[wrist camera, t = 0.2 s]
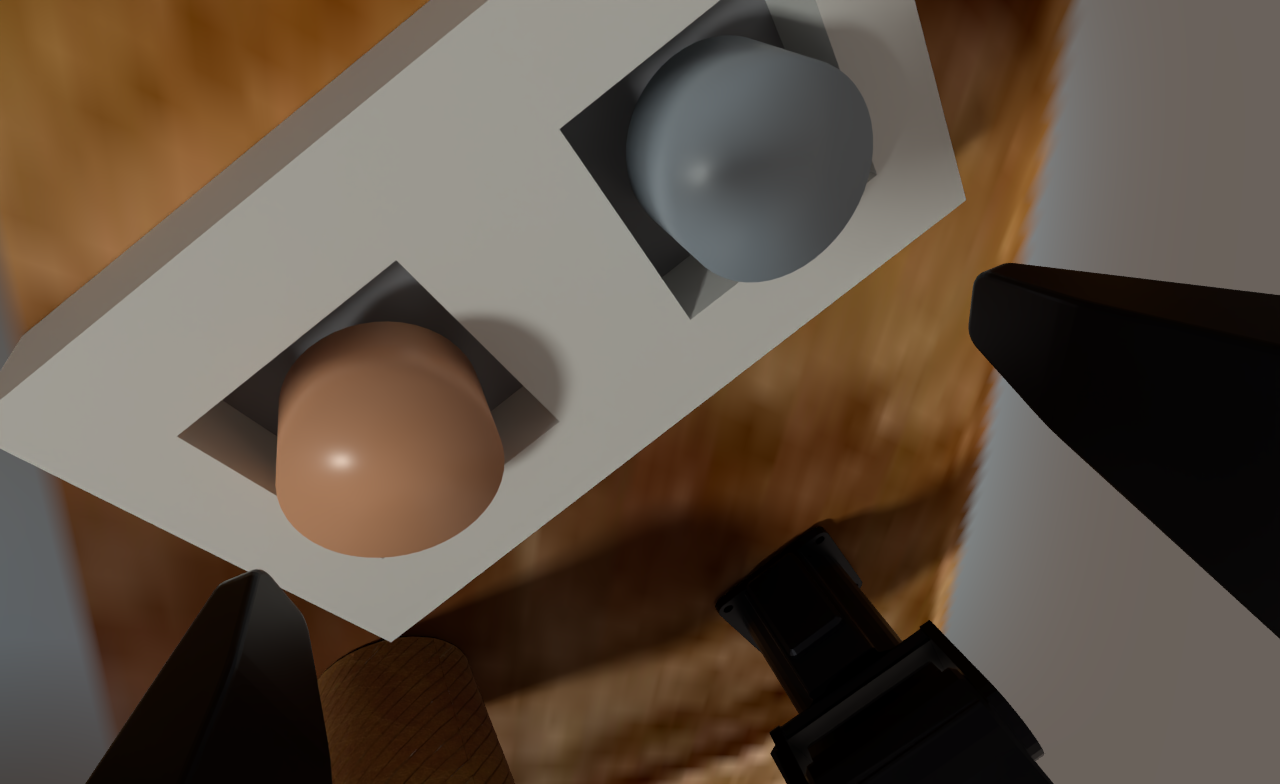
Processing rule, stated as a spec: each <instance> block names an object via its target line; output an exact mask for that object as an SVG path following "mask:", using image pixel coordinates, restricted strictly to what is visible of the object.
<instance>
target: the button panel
mask: <svg viewBox="0 0 1280 784" xmlns="http://www.w3.org/2000/svg"><path fill="white" fill-rule="evenodd" d="M722 35H735V36H743V37H747V38H750V39H753V40H757V41H760V42H763V43H766V44H769V45H772V46H776V47H779V48H782V49H785V50H788V51H791V52H794V53H798V54H801V55H804V56H807V57H810V58H813V59H816V60H820V61H823V62H826V63H828V64H830V65H832V66H834V67H836V68H838V69H839V70H840V71H842V72H843V73H844V74H845V75H847V76H848V77H849V78H850V80H851V81H852V82H853V83H854V84H855V85H856V87H857V88H858V90H859V91H860V93H861V95H862V96H863V98H864V101H865V103H866V105H867V108H868V111H869V115H870V119H871V123H872V131H873V154H872V163H871V168H870V173H869V177H868V181H867V184H866V187H865V190H864V192H863V195H862V197H861V200H860V202H859V204H858V206H857V208H856V210H855V212H854V213H853V215H852V217H851V219H850V220H849V222H848V223H847V225H846V226H845V228H844V229H843V230H842V232H841V233H840V234H839V235H838V236H837V238H836V239H835V240H834V241H833V242H832V243H831V244H830V245H829V246H828V247H827V248H826V249H825V250H824V251H823V252H822V253H821V254H820V255H818V256H817V257H816V258H815V259H813V260H812V261H811V262H809V263H808V264H806V265H805V266H803V267H801V268H800V269H798V270H796V271H794V272H792V273H790V274H787V275H785V276H783V277H780V278H776V279H773V280H769V281H763V282H747V283H746V282H738V281H733V280H729V279H726V278H723V277H721V276H719V275H717V274H715V273H713V272H711V271H710V270H709V269H707V268H706V267H704V266H703V265H702V264H701V263H700V262H699V261H698V260H697V259H696V258H694V257H693V256H692V255H691V254H690V253H689V252H688V251H687V250H686V249H685V248H684V247H682V246H681V245H680V244H679V243H678V242H677V241H676V240H675V239H674V238H673V237H672V236H670V235H669V234H668V233H667V232H666V231H665V230H664V229H663V228H662V227H661V226H660V225H658V224H657V223H656V222H655V221H654V220H653V219H652V218H651V217H650V216H649V215H648V214H647V213H646V212H645V210H644V209H643V208H642V206H641V205H640V203H639V202H638V200H637V198H636V196H635V194H634V192H633V189H632V187H631V184H630V180H629V176H628V172H627V164H626V141H627V134H628V128H629V125H630V121H631V117H632V114H633V111H634V109H635V106H636V104H637V101H638V100H639V98H640V96H641V94H642V92H643V90H644V88H645V87H646V85H647V84H648V82H649V81H650V79H651V78H652V77H653V76H654V74H655V73H656V72H657V71H658V70H659V69H660V67H661V66H662V65H663V64H665V63H666V62H667V61H668V60H669V59H670V58H671V57H672V56H674V55H675V54H677V53H678V52H679V51H681V50H682V49H684V48H686V47H688V46H689V45H691V44H693V43H695V42H698V41H701V40H704V39H706V38H710V37H716V36H722ZM965 200H966V198H965V194H964V190H963V186H962V183H961V179H960V175H959V171H958V167H957V163H956V159H955V155H954V151H953V148H952V144H951V140H950V136H949V132H948V128H947V124H946V120H945V117H944V113H943V109H942V105H941V101H940V97H939V93H938V89H937V85H936V82H935V78H934V74H933V70H932V66H931V62H930V58H929V54H928V50H927V47H926V43H925V39H924V35H923V31H922V27H921V23H920V19H919V16H918V12H917V8H916V4H915V0H430V1H429V2H428V3H426V4H425V5H424V6H423V7H422V8H420V9H419V10H418V11H417V12H415V13H414V14H413V15H412V16H411V17H409V18H408V19H407V20H406V21H405V22H403V23H402V24H401V25H400V26H398V27H397V28H396V29H395V30H394V31H392V32H391V33H390V34H389V35H388V36H386V37H385V38H384V39H383V40H381V41H380V42H379V43H378V44H377V45H375V46H374V47H373V48H372V49H371V50H369V51H368V52H367V53H366V54H364V55H363V56H362V57H361V58H360V59H358V60H357V61H356V62H355V63H354V64H352V65H351V66H350V67H349V68H347V69H346V70H345V71H344V72H343V73H341V74H340V75H339V76H338V77H337V78H335V79H334V80H333V81H332V82H330V83H329V84H328V85H327V86H326V87H324V88H323V89H322V90H321V91H319V92H318V93H317V94H316V95H315V96H313V97H312V98H311V99H310V100H309V101H307V102H306V103H305V104H304V105H302V106H301V107H300V108H299V109H298V110H296V111H295V112H294V113H293V114H292V115H290V116H289V117H288V118H287V119H285V120H284V121H283V122H282V123H281V124H279V125H278V126H277V127H276V128H275V129H273V130H272V131H271V132H270V133H268V134H267V135H266V136H265V137H264V138H262V139H261V140H260V141H259V142H258V143H256V144H255V145H254V146H253V147H251V148H250V149H249V150H248V151H247V152H245V153H244V154H243V155H242V156H241V157H239V158H238V159H237V160H236V161H234V162H233V163H232V164H231V165H230V166H228V167H227V168H226V169H225V170H224V171H222V172H221V173H220V174H219V175H217V176H216V177H215V178H214V179H213V180H211V181H210V182H209V183H208V184H207V185H205V186H204V187H203V188H202V189H200V190H199V191H198V192H197V193H196V194H194V195H193V196H192V197H191V198H190V199H188V200H187V201H186V202H185V203H183V204H182V205H181V206H180V207H179V208H177V209H176V210H175V211H174V212H173V213H171V214H170V215H169V216H168V217H166V218H165V219H164V220H163V221H162V222H160V223H159V224H158V225H157V226H156V227H154V228H153V229H152V230H151V231H149V232H148V233H147V234H146V235H145V236H143V237H142V238H141V239H140V240H139V241H137V242H136V243H135V244H134V245H132V246H131V247H130V248H129V249H128V250H126V251H125V252H124V253H123V254H122V255H120V256H119V257H118V258H117V259H115V260H114V261H113V262H112V263H111V264H109V265H108V266H107V267H106V268H105V269H103V270H102V271H101V272H100V273H98V274H97V275H96V276H95V277H94V278H92V279H91V280H90V281H89V282H87V283H86V284H85V285H84V286H83V287H81V288H80V289H79V290H78V291H77V292H75V293H74V294H73V295H72V296H70V297H69V298H68V299H67V300H66V301H64V302H63V303H62V304H61V305H60V306H58V307H57V308H56V309H55V310H53V311H52V312H51V313H50V314H49V315H47V316H46V317H45V318H44V319H43V320H41V321H40V322H39V323H38V324H36V325H35V326H34V327H33V328H32V329H30V330H29V331H28V332H27V333H26V334H24V335H23V336H22V337H21V339H20V341H19V342H18V344H17V345H16V347H15V349H14V350H13V352H12V353H11V355H10V357H9V358H8V360H7V361H6V363H5V365H4V366H3V368H2V369H1V371H0V449H2V450H4V451H6V452H8V453H10V454H12V455H14V456H16V457H18V458H20V459H22V460H24V461H26V462H29V463H30V464H32V465H34V466H36V467H38V468H40V469H42V470H44V471H46V472H49V473H51V474H53V475H55V476H57V477H59V478H61V479H63V480H65V481H67V482H69V483H71V484H73V485H75V486H77V487H79V488H81V489H83V490H85V491H87V492H89V493H91V494H93V495H95V496H97V497H99V498H101V499H103V500H105V501H107V502H109V503H111V504H113V505H115V506H117V507H119V508H121V509H123V510H125V511H127V512H129V513H131V514H133V515H135V516H137V517H139V518H141V519H143V520H145V521H147V522H149V523H151V524H153V525H155V526H157V527H159V528H161V529H163V530H165V531H167V532H169V533H172V534H174V535H176V536H178V537H180V538H182V539H184V540H186V541H188V542H190V543H192V544H194V545H196V546H198V547H200V548H202V549H204V550H206V551H208V552H210V553H212V554H214V555H216V556H218V557H220V558H222V559H224V560H226V561H228V562H230V563H232V564H234V565H236V566H238V567H240V568H242V569H244V570H246V571H248V572H249V571H251V570H254V569H261V570H264V571H265V572H267V573H268V574H269V575H270V576H271V577H272V578H273V579H274V581H275V582H276V583H277V584H278V585H279V587H280V588H282V589H284V590H286V591H288V592H290V593H293V594H295V595H297V596H299V597H301V598H303V599H305V600H307V601H309V602H311V603H313V604H315V605H317V606H319V607H321V608H323V609H325V610H327V611H329V612H331V613H333V614H335V615H337V616H339V617H341V618H343V619H345V620H347V621H349V622H351V623H353V624H355V625H357V626H359V627H361V628H363V629H365V630H367V631H369V632H371V633H373V634H375V635H377V636H379V637H381V638H383V639H385V640H387V641H389V642H392V641H394V640H395V639H396V638H397V637H399V636H400V635H401V634H403V633H404V632H405V631H407V630H408V629H409V628H410V627H412V626H413V625H414V624H416V623H417V622H418V621H420V620H421V619H422V618H423V617H425V616H426V615H427V614H429V613H430V612H431V611H433V610H434V609H435V608H436V607H438V606H439V605H440V604H442V603H443V602H444V601H446V600H447V599H448V598H449V597H451V596H452V595H453V594H455V593H456V592H457V591H459V590H460V589H461V588H462V587H464V586H465V585H466V584H468V583H469V582H470V581H472V580H473V579H474V578H475V577H477V576H478V575H479V574H481V573H482V572H483V571H485V570H486V569H487V568H488V567H490V566H491V565H492V564H494V563H495V562H496V561H498V560H499V559H500V558H501V557H503V556H504V555H505V554H507V553H508V552H509V551H511V550H512V549H513V548H514V547H516V546H517V545H518V544H520V543H521V542H522V541H524V540H525V539H526V538H527V537H529V536H530V535H531V534H533V533H534V532H535V531H537V530H538V529H539V528H540V527H542V526H543V525H544V524H546V523H547V522H548V521H550V520H551V519H552V518H553V517H555V516H556V515H557V514H559V513H560V512H561V511H563V510H564V509H565V508H566V507H568V506H569V505H570V504H572V503H573V502H574V501H576V500H577V499H578V498H579V497H581V496H582V495H583V494H585V493H586V492H587V491H589V490H590V489H591V488H592V487H594V486H595V485H596V484H598V483H599V482H600V481H602V480H603V479H604V478H605V477H607V476H608V475H609V474H611V473H612V472H613V471H615V470H616V469H617V468H618V467H620V466H621V465H622V464H624V463H625V462H626V461H628V460H629V459H630V458H631V457H633V456H634V455H635V454H637V453H638V452H639V451H641V450H642V449H643V448H644V447H646V446H647V445H648V444H650V443H651V442H652V441H654V440H655V439H656V438H657V437H659V436H660V435H661V434H663V433H664V432H665V431H667V430H668V429H669V428H670V427H672V426H673V425H674V424H676V423H677V422H678V421H680V420H681V419H682V418H683V417H685V416H686V415H687V414H689V413H690V412H691V411H693V410H694V409H695V408H696V407H698V406H699V405H700V404H702V403H703V402H704V401H706V400H707V399H708V398H709V397H711V396H712V395H713V394H715V393H716V392H717V391H719V390H720V389H721V388H722V387H724V386H725V385H726V384H728V383H729V382H730V381H732V380H733V379H734V378H735V377H737V376H738V375H739V374H741V373H742V372H743V371H745V370H746V369H747V368H748V367H750V366H751V365H752V364H754V363H755V362H756V361H758V360H759V359H760V358H761V357H763V356H764V355H765V354H767V353H768V352H769V351H771V350H772V349H773V348H774V347H776V346H777V345H778V344H780V343H781V342H782V341H784V340H785V339H786V338H787V337H789V336H790V335H791V334H793V333H794V332H795V331H797V330H798V329H799V328H800V327H802V326H803V325H804V324H806V323H807V322H808V321H810V320H811V319H812V318H813V317H815V316H816V315H817V314H819V313H820V312H821V311H823V310H824V309H825V308H826V307H828V306H829V305H830V304H832V303H833V302H834V301H835V300H837V299H838V298H839V297H841V296H842V295H843V294H845V293H846V292H847V291H848V290H850V289H851V288H852V287H854V286H855V285H856V284H858V283H859V282H860V281H861V280H863V279H864V278H865V277H867V276H868V275H869V274H871V273H872V272H873V271H874V270H876V269H877V268H878V267H880V266H881V265H882V264H884V263H885V262H886V261H887V260H889V259H890V258H891V257H893V256H894V255H895V254H897V253H898V252H899V251H900V250H902V249H903V248H904V247H906V246H907V245H908V244H910V243H911V242H912V241H913V240H915V239H916V238H917V237H919V236H920V235H921V234H923V233H924V232H925V231H926V230H928V229H929V228H930V227H932V226H933V225H934V224H936V223H937V222H938V221H939V220H941V219H942V218H943V217H945V216H946V215H947V214H949V213H950V212H951V211H952V210H954V209H955V208H956V207H958V206H959V205H960V204H962V203H963V202H964V201H965ZM385 321H390V322H403V323H408V324H413V325H417V326H420V327H424V328H427V329H429V330H432V331H434V332H436V333H438V334H440V335H442V336H443V337H445V338H447V339H448V340H450V341H451V342H452V343H453V344H455V345H456V346H457V347H458V348H459V349H460V350H461V351H462V352H463V353H464V354H465V355H466V356H467V358H468V359H469V361H470V362H471V364H472V365H473V368H474V370H475V372H476V374H477V377H478V379H479V382H480V385H481V387H482V390H483V393H484V396H485V398H486V401H487V404H488V406H489V409H490V412H491V414H492V417H493V420H494V422H495V425H496V428H497V431H498V433H499V436H500V439H501V442H502V446H503V449H504V459H505V462H504V472H503V477H502V481H501V484H500V486H499V489H498V491H497V493H496V495H495V497H494V499H493V500H492V502H491V503H490V505H489V506H488V507H487V509H486V510H485V511H484V512H483V513H482V514H481V516H480V517H479V518H478V519H477V520H476V521H474V522H473V523H472V524H471V525H470V526H469V527H467V528H466V529H465V530H463V531H462V532H460V533H459V534H457V535H456V536H454V537H452V538H450V539H449V540H447V541H445V542H443V543H441V544H438V545H436V546H434V547H431V548H428V549H426V550H423V551H420V552H416V553H412V554H408V555H402V556H395V557H384V558H366V557H357V556H350V555H346V554H341V553H337V552H334V551H331V550H329V549H326V548H324V547H322V546H319V545H317V544H315V543H313V542H312V541H310V540H309V539H307V538H306V537H304V536H303V535H302V534H301V533H300V532H298V531H297V530H296V529H295V528H294V527H293V526H292V524H291V523H290V522H289V521H288V520H287V518H286V516H285V515H284V513H283V511H282V509H281V507H280V504H279V501H278V499H277V493H276V487H275V483H276V458H277V433H278V408H279V395H280V391H281V387H282V384H283V382H284V379H285V377H286V375H287V373H288V371H289V370H290V368H291V366H292V365H293V364H294V363H295V361H296V360H297V359H298V358H299V356H300V355H301V354H303V353H304V352H305V351H306V350H307V349H308V348H309V347H310V346H312V345H313V344H315V343H316V342H318V341H319V340H320V339H322V338H324V337H326V336H328V335H330V334H332V333H334V332H336V331H339V330H341V329H344V328H347V327H350V326H354V325H358V324H363V323H370V322H385Z"/></svg>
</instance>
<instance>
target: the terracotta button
mask: <svg viewBox="0 0 1280 784" xmlns="http://www.w3.org/2000/svg"><path fill="white" fill-rule="evenodd" d="M504 462H505V459H504V449H503V446H502V442H501V439H500V436H499V433H498V431H497V428H496V425H495V422H494V420H493V417H492V414H491V412H490V409H489V406H488V404H487V401H486V398H485V396H484V393H483V390H482V387H481V385H480V382H479V379H478V377H477V374H476V372H475V370H474V368H473V365H472V364H471V362H470V361H469V359H468V358H467V356H466V355H465V354H464V353H463V352H462V351H461V350H460V349H459V348H458V347H457V346H456V345H455V344H453V343H452V342H451V341H450V340H448V339H447V338H445V337H443V336H442V335H440V334H438V333H436V332H434V331H432V330H429V329H427V328H424V327H420V326H417V325H413V324H408V323H403V322H390V321H385V322H370V323H363V324H358V325H354V326H350V327H347V328H344V329H341V330H339V331H336V332H334V333H332V334H330V335H328V336H326V337H324V338H322V339H320V340H319V341H318V342H316V343H315V344H313V345H312V346H310V347H309V348H308V349H307V350H306V351H305V352H304V353H303V354H301V355H300V356H299V358H298V359H297V360H296V361H295V363H294V364H293V365H292V366H291V368H290V370H289V371H288V373H287V375H286V377H285V379H284V382H283V384H282V387H281V391H280V395H279V408H278V433H277V458H276V483H275V487H276V493H277V499H278V501H279V504H280V507H281V509H282V511H283V513H284V515H285V516H286V518H287V520H288V521H289V522H290V523H291V524H292V526H293V527H294V528H295V529H296V530H297V531H298V532H300V533H301V534H302V535H303V536H304V537H306V538H307V539H309V540H310V541H312V542H313V543H315V544H317V545H319V546H322V547H324V548H326V549H329V550H331V551H334V552H337V553H341V554H346V555H350V556H357V557H366V558H384V557H395V556H402V555H408V554H412V553H416V552H420V551H423V550H426V549H428V548H431V547H434V546H436V545H438V544H441V543H443V542H445V541H447V540H449V539H450V538H452V537H454V536H456V535H457V534H459V533H460V532H462V531H463V530H465V529H466V528H467V527H469V526H470V525H471V524H472V523H473V522H474V521H476V520H477V519H478V518H479V517H480V516H481V514H482V513H483V512H484V511H485V510H486V509H487V507H488V506H489V505H490V503H491V502H492V500H493V499H494V497H495V495H496V493H497V491H498V489H499V486H500V484H501V481H502V477H503V472H504Z"/></svg>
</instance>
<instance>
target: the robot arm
mask: <svg viewBox="0 0 1280 784" xmlns="http://www.w3.org/2000/svg"><path fill="white" fill-rule="evenodd" d="M969 334H970V337H971V340H972V341H973V343H974V345H975V346H976V347H977V349H978V350H979V351H980V352H981V353H982V354H983V355H984V356H985V357H986V359H987V360H988V361H989V362H990V363H991V364H992V365H993V366H994V368H995V369H996V370H997V371H998V372H999V373H1000V374H1001V375H1002V376H1003V378H1004V379H1005V380H1006V381H1007V382H1008V383H1009V384H1010V385H1011V386H1012V388H1013V389H1014V390H1015V391H1016V392H1017V393H1018V394H1019V395H1020V397H1021V398H1022V399H1023V400H1024V401H1025V402H1026V403H1027V404H1028V405H1029V407H1030V408H1031V409H1032V410H1033V411H1034V412H1035V413H1036V414H1037V415H1038V416H1039V418H1040V419H1041V420H1042V421H1043V422H1044V423H1045V424H1046V425H1047V426H1048V427H1049V428H1050V429H1051V430H1052V431H1053V432H1054V433H1055V434H1056V435H1057V436H1058V437H1059V438H1060V439H1061V440H1062V441H1064V442H1065V443H1066V444H1067V445H1068V446H1069V447H1070V448H1071V449H1072V450H1073V451H1074V452H1076V453H1077V454H1078V455H1079V456H1080V457H1081V458H1082V459H1083V460H1084V461H1085V462H1087V463H1088V464H1089V465H1090V466H1091V467H1092V468H1093V469H1094V470H1095V471H1096V472H1098V473H1099V474H1100V475H1101V476H1102V477H1103V478H1104V479H1105V480H1106V481H1107V482H1108V483H1110V484H1111V485H1112V486H1113V487H1114V488H1115V489H1116V490H1117V491H1118V492H1119V493H1121V494H1122V495H1123V496H1124V497H1125V498H1126V499H1127V500H1128V501H1129V502H1130V503H1131V504H1133V505H1134V506H1135V507H1136V508H1137V509H1138V510H1139V511H1140V512H1141V513H1142V514H1144V515H1145V516H1146V517H1147V518H1148V519H1149V520H1150V521H1151V522H1152V523H1153V524H1155V525H1156V526H1157V527H1158V528H1159V529H1160V530H1161V531H1162V532H1163V533H1164V534H1165V535H1167V536H1168V537H1169V538H1170V539H1171V540H1172V541H1173V542H1174V543H1175V544H1177V545H1178V546H1179V547H1180V548H1181V549H1182V550H1183V551H1184V552H1185V553H1186V554H1187V555H1189V556H1190V557H1191V558H1192V559H1193V560H1194V561H1195V562H1196V563H1197V564H1199V566H1201V567H1202V568H1203V569H1204V570H1205V571H1206V572H1207V573H1209V575H1210V576H1212V577H1213V578H1214V579H1215V580H1216V581H1217V582H1218V583H1219V584H1220V585H1221V586H1223V587H1224V588H1225V589H1226V590H1227V591H1228V592H1229V593H1230V594H1231V595H1232V596H1234V597H1235V598H1236V599H1237V600H1238V601H1239V602H1240V603H1241V604H1242V605H1243V606H1245V607H1246V608H1247V609H1248V610H1249V611H1250V612H1251V613H1252V614H1253V615H1254V616H1255V617H1257V618H1258V619H1259V620H1260V621H1261V622H1262V623H1263V624H1264V625H1265V626H1266V627H1267V628H1269V629H1270V630H1271V631H1272V632H1273V633H1274V634H1275V635H1276V636H1277V637H1278V638H1280V295H1273V294H1265V293H1257V292H1249V291H1240V290H1232V289H1224V288H1216V287H1207V286H1199V285H1191V284H1182V283H1174V282H1166V281H1157V280H1149V279H1141V278H1133V277H1124V276H1116V275H1108V274H1099V273H1091V272H1083V271H1075V270H1066V269H1057V268H1050V267H1041V266H1033V265H1025V264H1016V263H1006V264H1002V265H999V266H997V267H994V268H992V269H990V270H987V271H985V272H982V273H981V274H980V275H978V276H977V278H976V280H975V281H974V285H973V291H972V300H971V309H970V317H969ZM861 586H862V581H861V579H860V578H859V577H858V575H857V574H856V572H855V571H854V570H853V568H852V567H851V565H850V564H849V562H848V561H847V560H846V558H845V557H844V555H843V554H842V553H841V551H840V550H839V548H838V547H837V545H836V544H835V543H834V541H833V540H832V538H831V537H830V535H829V534H828V533H827V532H826V530H825V529H824V528H823V527H816V528H814V529H812V530H811V531H810V532H808V533H807V534H806V535H804V536H803V537H802V538H800V539H799V540H798V541H796V542H795V543H794V544H792V545H791V546H790V547H788V548H787V549H786V550H784V551H783V552H782V553H780V554H779V555H778V556H776V557H775V558H774V559H772V560H771V561H770V562H768V563H767V564H766V565H764V566H763V567H762V568H760V569H759V570H758V571H756V572H755V573H754V574H752V575H751V576H750V577H748V578H747V579H746V580H744V581H743V582H742V583H740V584H739V585H738V586H736V587H735V588H734V589H732V590H731V591H730V592H728V593H727V594H726V595H724V596H723V597H722V598H720V599H719V600H718V601H717V603H716V605H715V607H716V609H717V611H718V613H719V614H720V616H721V617H723V618H724V619H725V620H726V621H727V622H728V623H729V624H730V625H731V626H732V627H734V628H735V629H736V630H737V631H738V632H739V633H740V634H741V635H742V636H743V637H745V638H746V639H747V640H748V641H749V642H750V643H751V644H752V645H753V646H754V647H756V648H757V649H758V650H759V651H760V652H761V653H762V654H763V656H764V657H765V659H766V661H767V662H768V664H769V666H770V667H771V669H772V671H773V672H774V674H775V675H776V677H777V679H778V680H779V682H780V684H781V685H782V687H783V689H784V690H785V692H786V693H787V695H788V697H789V698H790V700H791V702H792V703H793V705H794V707H795V708H796V710H797V711H798V713H799V714H798V715H797V716H795V717H794V718H793V719H791V720H790V721H788V722H787V723H785V724H784V725H783V726H777V727H776V728H774V729H773V730H772V731H770V732H769V733H770V735H771V737H772V739H773V741H774V743H775V746H774V748H773V750H772V752H771V753H770V754H771V756H772V757H773V759H774V761H775V763H776V765H777V767H778V768H779V770H780V772H781V774H782V776H783V778H784V779H785V781H786V783H787V784H1053V782H1052V781H1051V780H1050V779H1049V778H1048V776H1047V775H1046V774H1045V773H1044V772H1043V770H1042V769H1041V768H1040V767H1039V766H1038V764H1037V763H1036V762H1035V761H1036V760H1038V759H1039V758H1040V757H1042V756H1043V755H1044V752H1043V749H1042V748H1041V746H1040V744H1039V743H1038V741H1037V740H1036V738H1035V737H1034V735H1033V734H1032V732H1031V731H1030V730H1029V728H1028V727H1027V726H1026V724H1025V723H1024V722H1023V720H1022V719H1021V718H1020V716H1019V715H1018V714H1017V713H1016V711H1014V709H1013V708H1012V707H1011V705H1010V704H1009V703H1008V702H1007V701H1006V699H1005V698H1004V697H1003V696H1002V695H1001V694H1000V693H999V692H998V690H997V689H996V688H995V687H994V686H993V685H992V684H991V683H990V682H989V681H988V680H987V679H986V678H985V677H984V676H983V675H982V673H981V672H980V671H979V670H977V668H976V667H975V666H974V665H973V664H972V663H971V662H970V661H969V660H968V659H967V658H966V657H965V656H964V655H963V654H962V653H961V652H960V651H959V650H958V649H957V648H956V647H955V646H954V645H953V644H952V643H951V642H950V640H949V639H948V638H947V637H946V636H945V635H944V634H943V633H942V632H941V631H940V630H939V629H938V628H937V627H936V626H935V625H934V624H933V623H932V622H931V621H930V620H928V621H927V622H926V623H924V624H923V625H921V626H920V629H919V630H918V631H917V632H915V633H914V634H912V635H911V636H909V637H908V638H907V639H905V640H904V641H902V640H901V639H900V638H899V636H898V635H897V634H896V633H895V632H894V630H893V629H892V628H891V627H890V625H889V624H888V623H887V622H886V620H885V619H884V618H883V617H882V615H881V614H880V613H879V612H878V611H877V609H876V608H875V607H874V606H873V604H872V603H871V602H870V601H869V599H868V598H867V597H866V596H865V594H864V593H863V592H862V591H861V590H860V587H861ZM85 784H333V783H332V770H331V759H330V752H329V746H328V739H327V733H326V727H325V722H324V716H323V710H322V705H321V699H320V693H319V688H318V682H317V676H316V671H315V665H314V659H313V654H312V648H311V642H310V637H309V631H308V627H307V624H306V622H305V619H304V617H303V615H302V614H301V612H300V611H299V609H298V608H297V607H296V606H295V604H294V603H293V602H292V601H291V600H290V599H289V597H288V596H287V595H286V594H285V593H284V591H283V590H282V589H281V588H280V587H279V585H278V584H277V583H276V582H275V581H274V579H273V578H272V577H271V576H270V575H269V574H268V573H267V572H265V571H264V570H261V569H254V570H251V571H249V572H246V573H244V574H241V575H239V576H236V577H234V578H231V579H229V580H227V581H225V582H223V583H221V584H220V585H219V586H218V587H217V588H216V589H215V590H214V592H213V593H212V595H211V596H210V598H209V599H208V601H207V602H206V604H205V605H204V607H203V608H202V610H201V611H200V613H199V614H198V616H197V617H196V619H195V620H194V622H193V623H192V625H191V626H190V628H189V629H188V631H187V632H186V634H185V635H184V637H183V638H182V640H181V641H180V643H179V644H178V646H177V647H176V649H175V650H174V652H173V653H172V655H171V656H170V658H169V659H168V661H167V662H166V664H165V665H164V667H163V668H162V670H161V671H160V673H159V674H158V676H157V677H156V678H155V680H154V681H153V683H152V684H151V686H150V687H149V689H148V690H147V692H146V693H145V695H144V696H143V698H142V699H141V701H140V702H139V704H138V705H137V707H136V708H135V710H134V711H133V713H132V714H131V716H130V717H129V719H128V720H127V722H126V723H125V725H124V726H123V728H122V729H121V731H120V732H119V734H118V735H117V737H116V738H115V740H114V741H113V743H112V744H111V746H110V747H109V749H108V750H107V752H106V753H105V755H104V756H103V758H102V759H101V761H100V762H99V764H98V765H97V767H96V768H95V770H94V771H93V773H92V774H91V776H90V777H89V779H88V780H87V782H86V783H85Z"/></svg>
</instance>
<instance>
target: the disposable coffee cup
mask: <svg viewBox="0 0 1280 784" xmlns="http://www.w3.org/2000/svg"><path fill="white" fill-rule="evenodd" d="M317 682H318V688H319V693H320V699H321V705H322V710H323V716H324V722H325V727H326V733H327V739H328V746H329V752H330V759H331V770H332V783H333V784H515V783H514V779H513V777H512V774H511V772H510V769H509V766H508V764H507V761H506V759H505V756H504V754H503V751H502V748H501V746H500V743H499V741H498V739H497V735H496V733H495V730H494V728H493V726H492V723H491V720H490V718H489V715H488V713H487V710H486V707H485V705H484V702H483V700H482V697H481V694H480V692H479V689H478V687H477V684H476V681H475V678H474V676H473V673H472V671H471V668H470V665H469V662H468V660H467V658H466V656H465V655H464V654H463V653H462V651H461V650H460V649H458V648H457V647H456V646H454V645H452V644H450V643H448V642H445V641H443V640H439V639H436V638H429V637H400V638H396V639H395V640H394V641H392V642H389V641H387V640H385V641H380V642H378V643H375V644H372V645H369V646H366V647H363V648H361V649H359V650H356V651H354V652H352V653H350V654H348V655H347V656H345V657H344V658H342V659H340V660H339V661H337V662H336V663H335V664H333V665H332V666H331V667H330V668H329V669H328V670H326V671H325V672H324V673H323V674H322V676H321V677H320V678H319V679H318V681H317Z"/></svg>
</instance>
